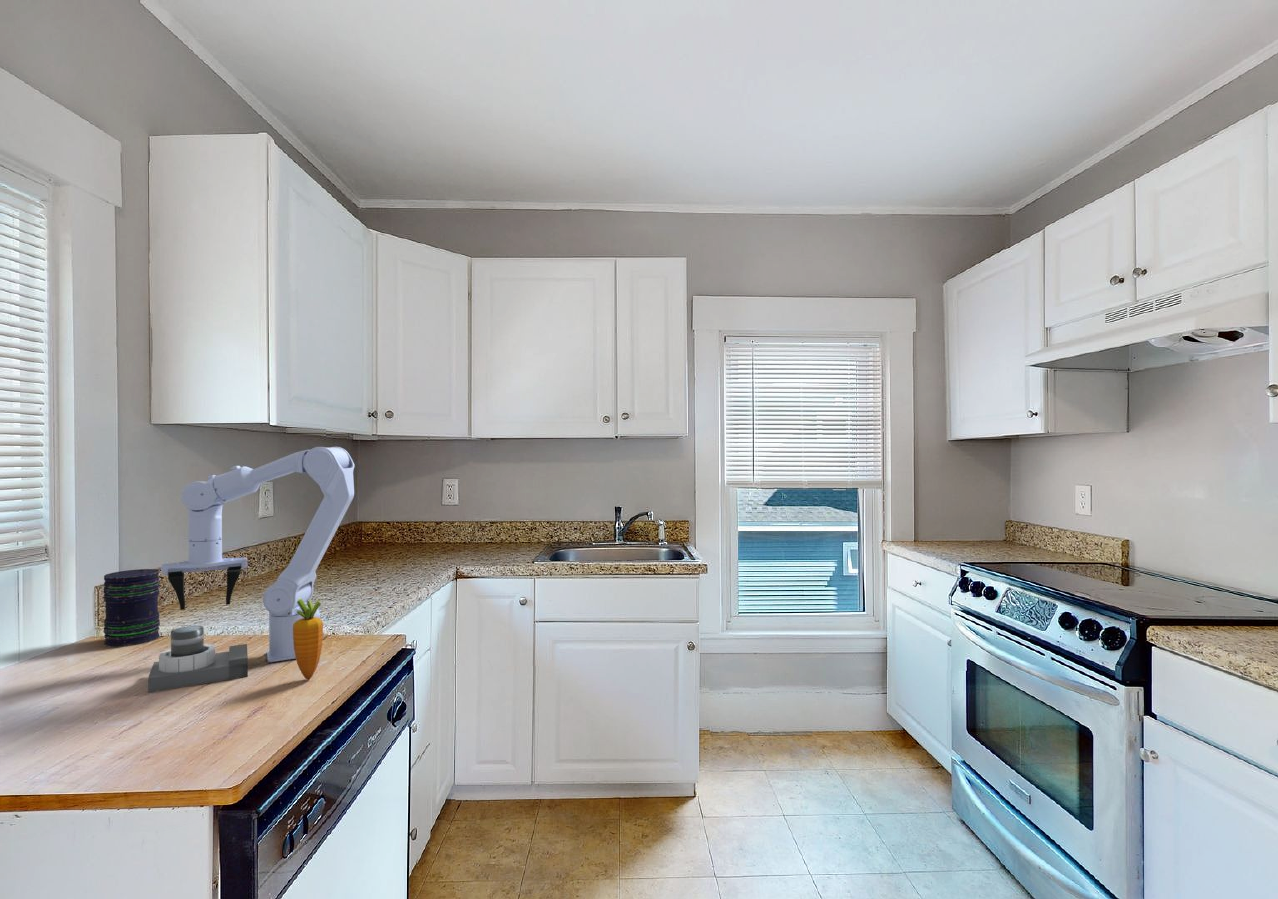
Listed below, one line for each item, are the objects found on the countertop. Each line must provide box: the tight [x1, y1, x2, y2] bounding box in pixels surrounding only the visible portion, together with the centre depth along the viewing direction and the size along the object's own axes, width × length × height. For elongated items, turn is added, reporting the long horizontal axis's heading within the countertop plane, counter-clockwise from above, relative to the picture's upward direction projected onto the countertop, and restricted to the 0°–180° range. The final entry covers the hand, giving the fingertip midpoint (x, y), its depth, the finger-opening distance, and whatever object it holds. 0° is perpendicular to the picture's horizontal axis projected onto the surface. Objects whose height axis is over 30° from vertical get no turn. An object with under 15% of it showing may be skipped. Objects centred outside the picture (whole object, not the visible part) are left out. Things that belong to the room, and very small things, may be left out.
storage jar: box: [103, 568, 161, 648], centre depth 144 cm, size 10×10×15 cm
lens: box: [170, 625, 205, 657], centre depth 121 cm, size 5×5×7 cm
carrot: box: [293, 599, 324, 681], centre depth 120 cm, size 5×5×15 cm
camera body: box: [147, 643, 249, 693], centre depth 122 cm, size 15×10×5 cm, turn 122°
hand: (205, 606), depth 133 cm, fingers open, 7 cm apart
